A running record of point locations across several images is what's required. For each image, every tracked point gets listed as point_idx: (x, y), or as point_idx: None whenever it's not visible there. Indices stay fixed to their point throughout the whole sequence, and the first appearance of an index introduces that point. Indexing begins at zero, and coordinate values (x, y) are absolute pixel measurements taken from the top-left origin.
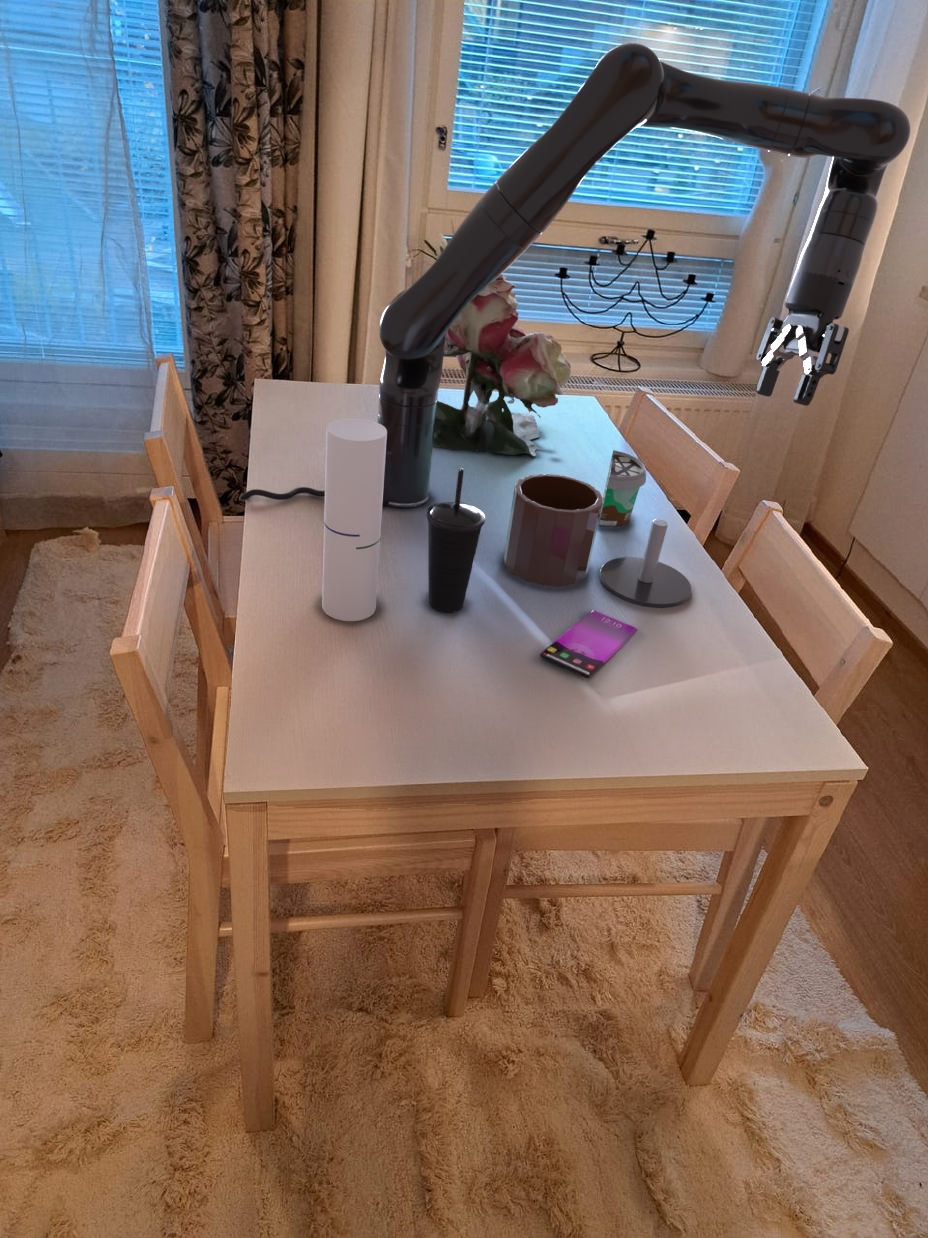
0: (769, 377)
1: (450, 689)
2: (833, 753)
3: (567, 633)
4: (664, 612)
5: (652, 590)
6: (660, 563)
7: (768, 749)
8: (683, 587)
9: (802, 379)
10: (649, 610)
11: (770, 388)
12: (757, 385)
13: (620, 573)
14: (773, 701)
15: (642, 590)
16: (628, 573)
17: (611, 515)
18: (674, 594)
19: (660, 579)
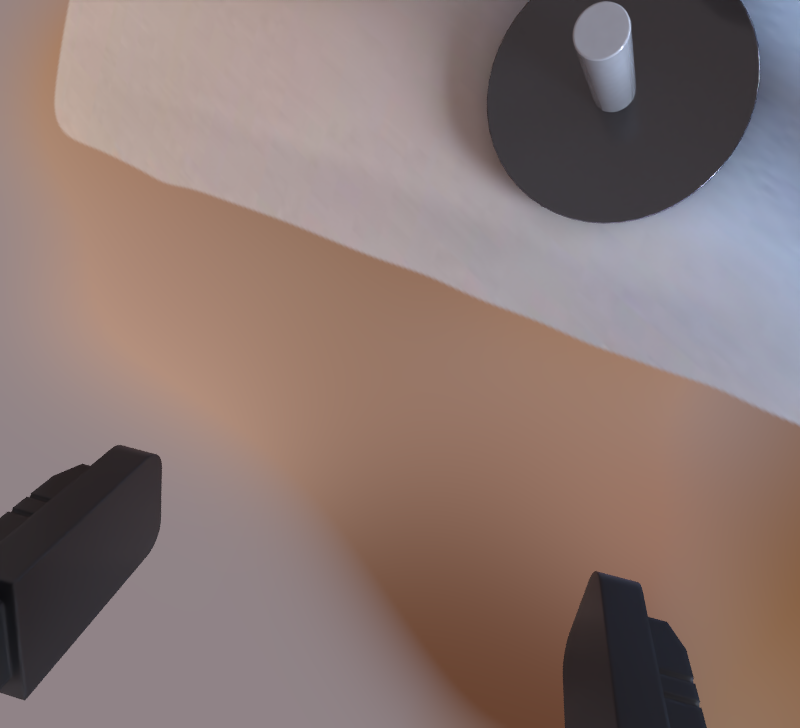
0: (589, 723)
1: None
2: (70, 116)
3: None
4: None
5: (557, 76)
6: (675, 195)
7: (100, 8)
8: (538, 176)
9: (24, 544)
10: None
11: (571, 682)
12: (684, 648)
13: (671, 28)
14: (182, 110)
15: (566, 44)
16: (662, 55)
17: None
18: (519, 127)
19: (597, 136)
